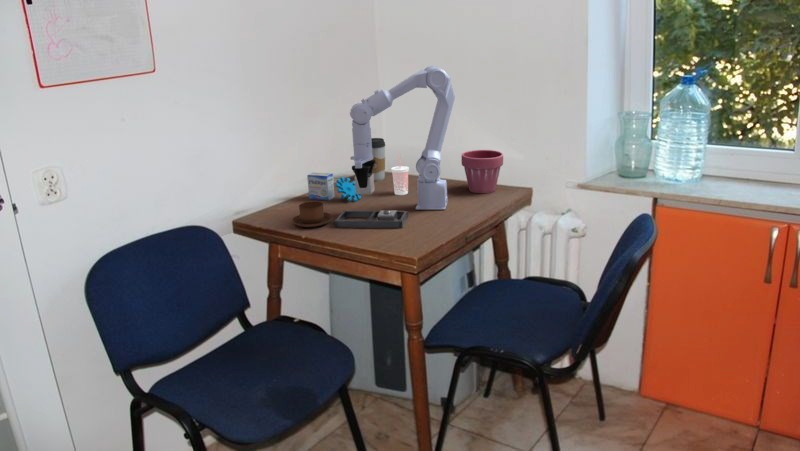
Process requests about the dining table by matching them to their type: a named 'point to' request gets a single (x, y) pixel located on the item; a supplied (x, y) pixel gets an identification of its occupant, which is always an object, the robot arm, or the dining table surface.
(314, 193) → the medicine box
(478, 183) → the plant pot
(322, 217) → the cup and saucer
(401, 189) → the beverage cup
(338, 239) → the dining table surface
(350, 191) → the gear
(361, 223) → the grey flat rectangular frame
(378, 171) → the coffee cup
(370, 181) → the grey square block
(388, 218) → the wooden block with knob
